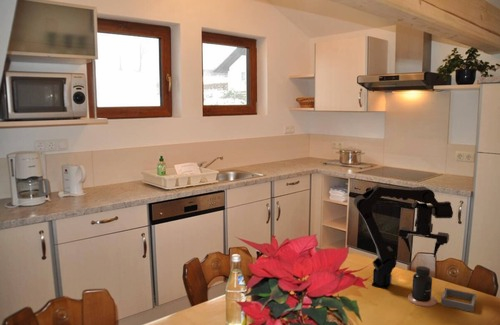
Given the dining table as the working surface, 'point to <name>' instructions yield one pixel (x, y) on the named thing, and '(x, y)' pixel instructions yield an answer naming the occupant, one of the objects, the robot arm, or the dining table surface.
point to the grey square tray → (455, 303)
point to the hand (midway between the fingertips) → (422, 255)
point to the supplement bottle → (422, 284)
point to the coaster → (425, 304)
